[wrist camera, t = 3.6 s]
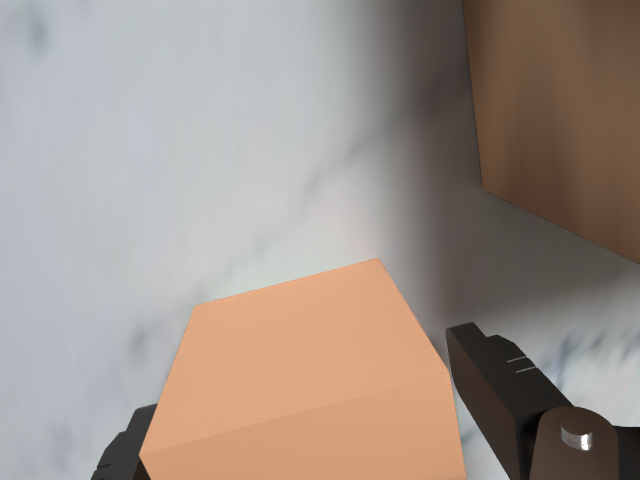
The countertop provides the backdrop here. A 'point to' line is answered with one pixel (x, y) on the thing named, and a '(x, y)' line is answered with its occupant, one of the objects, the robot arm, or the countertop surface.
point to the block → (307, 388)
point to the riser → (561, 111)
